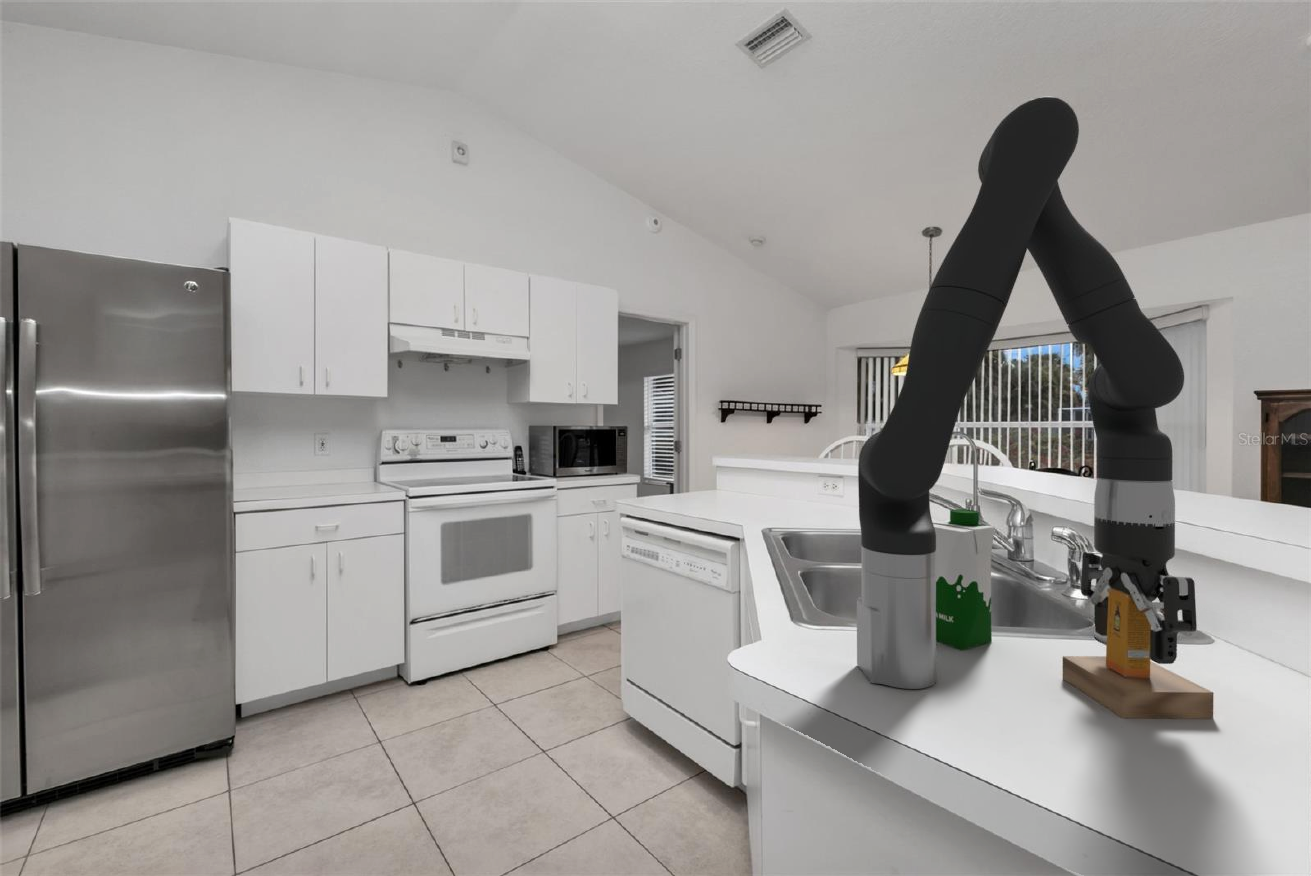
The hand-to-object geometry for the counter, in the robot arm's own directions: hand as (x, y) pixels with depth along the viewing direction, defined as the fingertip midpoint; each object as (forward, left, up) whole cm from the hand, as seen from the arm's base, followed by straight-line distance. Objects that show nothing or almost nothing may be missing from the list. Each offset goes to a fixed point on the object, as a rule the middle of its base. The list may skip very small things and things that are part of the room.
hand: (1132, 647), depth 69 cm
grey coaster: (+14, +18, -6) cm, 24 cm away
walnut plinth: (0, 0, -6) cm, 6 cm away
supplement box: (0, 0, -3) cm, 3 cm away
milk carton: (-12, +19, -6) cm, 23 cm away
